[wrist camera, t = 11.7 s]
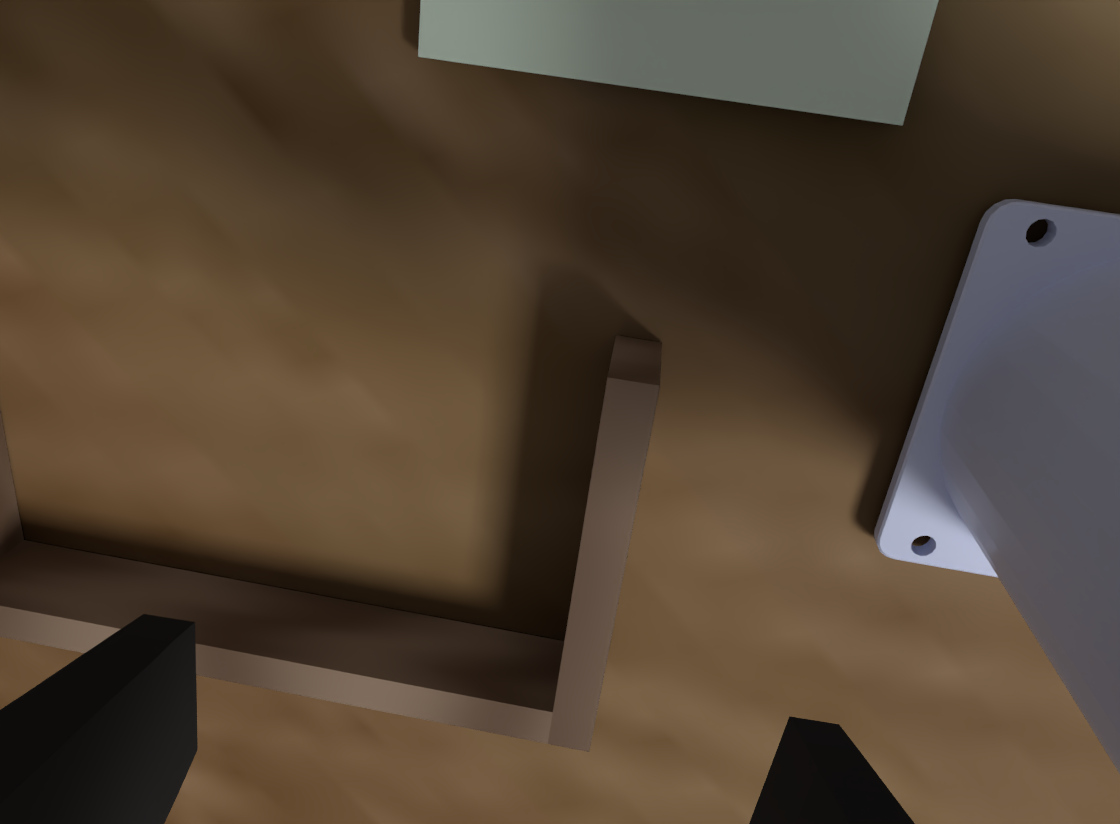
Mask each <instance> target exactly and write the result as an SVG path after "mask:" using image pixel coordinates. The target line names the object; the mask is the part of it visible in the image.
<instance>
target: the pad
mask: <svg viewBox="0 0 1120 824" xmlns="http://www.w3.org/2000/svg"><path fill="white" fill-rule="evenodd" d="M938 1H939V0H421V4H420V25H419V46H418V57H423V58H430V59H437V60H444V61H451V62H458V63H465V64H472V65H480V66H487V67H494V68H501V69H508V70H515V71H522V72H529V73H536V74H543V75H550V76H557V77H564V78H571V79H578V80H585V81H592V82H599V83H606V84H613V85H620V86H627V87H634V88H641V89H648V90H655V91H662V92H669V93H676V94H684V95H691V96H698V97H705V98H712V99H719V100H726V101H733V102H740V103H747V104H754V105H761V106H768V107H775V108H782V109H789V110H796V111H803V112H810V113H817V114H824V115H831V116H838V117H845V118H852V119H859V120H866V121H873V122H880V123H888V124H895V125H902V126H903V122H904V119H905V116H906V112H907V109H908V105H909V102H910V98H911V95H912V91H913V88H914V84H915V81H916V77H917V74H918V70H919V67H920V63H921V60H922V57H923V53H924V50H925V46H926V43H927V39H928V36H929V32H930V29H931V25H932V22H933V18H934V15H935V11H936V8H937V4H938Z"/></svg>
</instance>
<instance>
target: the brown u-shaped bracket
mask: <svg viewBox="0 0 1120 824" xmlns="http://www.w3.org/2000/svg"><path fill="white" fill-rule="evenodd" d="M661 348H662V343H661V342H655V341H649V340H643V339H636V338H630V337H624V336H618V335H616V337H615V342H614V347H613V352H612V357H611V362H610V367H609V372H608V377H607V383H606V389H605V395H604V401H603V408H602V414H601V420H600V426H599V432H598V438H597V444H596V451H595V457H594V463H593V469H592V475H591V481H590V487H589V493H588V500H587V506H586V512H585V518H584V524H583V530H582V536H581V543H580V549H579V555H578V561H577V567H576V573H575V579H574V586H573V592H572V598H571V604H570V610H569V616H568V622H567V629H566V635H565V641H560V640H555V639H550V638H544V637H539V636H534V635H528V634H523V633H518V632H512V631H507V630H502V629H496V628H491V627H486V626H480V625H475V624H470V623H464V622H459V621H454V620H448V619H443V618H438V617H432V616H427V615H422V614H416V613H411V612H406V611H400V610H395V609H390V608H384V607H379V606H374V605H368V604H363V603H358V602H352V601H347V600H342V599H336V598H331V597H325V596H320V595H315V594H309V593H304V592H299V591H293V590H288V589H283V588H277V587H272V586H267V585H261V584H256V583H251V582H245V581H240V580H235V579H229V578H224V577H219V576H213V575H208V574H203V573H197V572H192V571H187V570H181V569H176V568H171V567H165V566H160V565H155V564H149V563H144V562H139V561H133V560H128V559H123V558H117V557H112V556H107V555H101V554H96V553H91V552H85V551H80V550H75V549H69V548H64V547H59V546H53V545H48V544H43V543H37V542H32V541H27V540H24V538H23V532H22V527H21V521H20V516H19V510H18V505H17V499H16V494H15V488H14V483H13V477H12V472H11V466H10V461H9V455H8V450H7V444H6V439H5V433H4V428H3V423H2V417H1V412H0V637H5V638H10V639H15V640H20V641H25V642H31V643H36V644H41V645H46V646H51V647H56V648H61V649H66V650H71V651H76V652H82V653H86V652H87V651H89V650H90V649H92V648H93V647H95V646H96V645H98V644H99V643H101V642H102V641H103V640H105V639H106V638H108V637H109V636H111V635H112V634H114V633H115V632H117V631H118V630H120V629H121V628H123V627H125V626H126V625H128V624H129V623H131V622H132V621H134V620H135V619H137V618H138V617H140V616H141V615H143V614H148V615H154V616H161V617H167V618H173V619H179V620H186V621H192V622H195V641H196V675H199V676H204V677H209V678H214V679H219V680H225V681H230V682H235V683H240V684H245V685H250V686H255V687H260V688H265V689H271V690H276V691H281V692H286V693H291V694H296V695H301V696H306V697H311V698H317V699H322V700H327V701H332V702H337V703H342V704H347V705H352V706H357V707H363V708H368V709H373V710H378V711H383V712H388V713H393V714H398V715H403V716H408V717H414V718H419V719H424V720H429V721H434V722H439V723H444V724H449V725H454V726H460V727H465V728H470V729H475V730H480V731H485V732H490V733H495V734H500V735H506V736H511V737H516V738H521V739H526V740H531V741H536V742H541V743H546V744H551V745H557V746H562V747H567V748H572V749H577V750H582V751H587V752H589V750H590V745H591V740H592V735H593V730H594V725H595V719H596V714H597V709H598V704H599V699H600V693H601V688H602V683H603V678H604V673H605V668H606V662H607V657H608V652H609V647H610V642H611V637H612V631H613V626H614V621H615V616H616V611H617V606H618V600H619V595H620V590H621V585H622V580H623V575H624V569H625V564H626V559H627V554H628V549H629V544H630V538H631V533H632V528H633V523H634V518H635V513H636V507H637V502H638V497H639V492H640V487H641V481H642V476H643V471H644V466H645V461H646V456H647V450H648V445H649V440H650V435H651V430H652V425H653V419H654V414H655V409H656V404H657V399H658V394H659V388H660V373H661Z"/></svg>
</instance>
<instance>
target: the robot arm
mask: <svg viewBox="0 0 1120 824" xmlns="http://www.w3.org/2000/svg"><path fill="white" fill-rule="evenodd" d="M1040 219H1045V220H1046V221H1047V223H1048V227H1047V232H1046V233H1045V235H1044V236H1043V238H1041V239H1040V240H1038V241H1036V242H1032V243H1028V242H1027V240H1026V231H1027V229H1028V228H1029V227H1030V225H1031V224H1032V223H1034V222H1035V221H1037V220H1040ZM920 536H929V537H931V538H930V540H929V541H928V542H927V543H926V544H924V545H922V546H914V545H912V544H911V543H912V542H913V541H914V539H916V538H918V537H920ZM874 538H875V541H876V543H877V546H878V548H879V551H880V552H881V553H883V554H884V555H885V556H886V557H889V558H892V559H896V560H902V561H907V562H913V563H919V564H924V565H930V566H936V567H942V568H947V569H953V570H959V571H964V572H970V573H976V574H981V575H987V576H993V577H998V578H999V579H1000V581H1001V583H1002V584H1003V586H1004V587H1005V589H1006V591H1007V592H1008V594H1009V595H1010V597H1011V599H1012V600H1013V602H1014V604H1015V605H1016V607H1017V608H1018V610H1019V612H1020V613H1021V615H1022V616H1023V618H1024V620H1025V621H1026V623H1027V625H1028V626H1029V628H1030V629H1031V631H1032V633H1033V634H1034V636H1035V637H1036V639H1037V641H1038V642H1039V644H1040V646H1041V647H1042V649H1043V650H1044V652H1045V654H1046V655H1047V657H1048V659H1049V660H1050V662H1051V663H1052V665H1053V667H1054V668H1055V670H1056V671H1057V673H1058V675H1059V676H1060V678H1061V680H1062V681H1063V683H1064V684H1065V686H1066V688H1067V689H1068V691H1069V692H1070V694H1071V696H1072V697H1073V699H1074V701H1075V702H1076V704H1077V705H1078V707H1079V709H1080V710H1081V712H1082V713H1083V715H1084V717H1085V718H1086V720H1087V722H1088V723H1089V725H1090V726H1091V728H1092V730H1093V731H1094V733H1095V734H1096V736H1097V738H1098V739H1099V741H1100V743H1101V744H1102V746H1103V747H1104V749H1105V751H1106V752H1107V754H1108V756H1109V757H1110V759H1111V760H1112V762H1113V764H1114V765H1115V767H1116V768H1117V770H1118V772H1119V773H1120V214H1115V213H1108V212H1101V211H1095V210H1088V209H1081V208H1074V207H1067V206H1060V205H1054V204H1047V203H1040V202H1033V201H1026V200H1020V199H1006V200H1003V201H1001V202H998V203H996V204H994V205H993V206H992V207H991V208H989V209H988V210H987V211H986V212H985V214H984V216H983V217H982V219H981V221H980V223H979V226H978V229H977V232H976V235H975V238H974V241H973V244H972V247H971V250H970V253H969V255H968V258H967V261H966V264H965V267H964V270H963V273H962V276H961V279H960V282H959V285H958V288H957V291H956V293H955V296H954V299H953V302H952V305H951V308H950V311H949V314H948V317H947V320H946V323H945V326H944V328H943V331H942V334H941V337H940V340H939V343H938V346H937V349H936V352H935V355H934V358H933V361H932V363H931V366H930V369H929V372H928V375H927V378H926V381H925V384H924V387H923V390H922V393H921V396H920V398H919V401H918V404H917V407H916V410H915V413H914V416H913V419H912V422H911V425H910V428H909V431H908V434H907V436H906V439H905V442H904V445H903V448H902V451H901V454H900V457H899V460H898V463H897V466H896V469H895V471H894V474H893V477H892V480H891V483H890V486H889V489H888V492H887V495H886V498H885V501H884V504H883V506H882V509H881V512H880V515H879V518H878V521H877V524H876V527H875V531H874ZM196 752H197V698H196V641H195V622H192V621H186V620H179V619H173V618H167V617H161V616H154V615H148V614H143V615H141V616H140V617H138V618H137V619H135V620H134V621H132V622H131V623H129V624H128V625H126V626H125V627H123V628H121V629H120V630H118V631H117V632H115V633H114V634H112V635H111V636H109V637H108V638H106V639H105V640H103V641H102V642H101V643H99V644H98V645H96V646H95V647H93V648H92V649H90V650H89V651H87V652H86V653H84V654H83V655H81V656H80V657H78V658H77V659H75V660H74V661H73V662H71V663H70V664H68V665H67V666H65V667H64V668H62V669H61V670H59V671H58V672H56V673H55V674H53V675H52V676H50V677H49V678H47V679H46V680H44V681H43V682H42V683H40V684H39V685H37V686H36V687H34V688H33V689H31V690H30V691H28V692H27V693H25V694H24V695H22V696H21V697H19V698H18V699H16V700H15V701H13V702H11V703H10V704H8V705H7V706H5V707H4V708H2V709H1V710H0V824H164V823H165V821H166V818H167V816H168V814H169V812H170V810H171V808H172V806H173V803H174V801H175V799H176V797H177V795H178V793H179V790H180V788H181V786H182V783H183V781H184V779H185V777H186V774H187V772H188V770H189V767H190V765H191V763H192V761H193V758H194V756H195V754H196ZM749 824H914V822H913V821H912V820H911V818H910V817H909V816H908V814H907V813H906V812H905V810H904V809H903V808H902V807H901V805H900V804H899V803H898V801H897V800H896V799H895V797H894V796H893V795H892V793H891V792H890V791H889V789H888V788H887V787H886V785H885V784H884V783H883V781H882V780H881V779H880V778H879V776H878V775H877V774H876V772H875V771H874V770H873V768H872V767H871V766H870V764H869V763H868V762H867V760H866V759H865V758H864V756H863V755H862V754H861V752H860V751H859V750H858V748H857V747H856V746H855V745H854V743H853V742H852V741H851V739H850V738H849V737H848V736H847V734H846V733H845V732H844V730H843V729H842V728H841V727H840V725H839V724H833V723H827V722H820V721H814V720H808V719H801V718H795V717H789V719H788V722H787V725H786V727H785V730H784V733H783V735H782V738H781V741H780V743H779V746H778V749H777V751H776V754H775V757H774V759H773V762H772V765H771V767H770V770H769V773H768V775H767V778H766V781H765V783H764V786H763V789H762V791H761V794H760V797H759V799H758V802H757V805H756V807H755V810H754V813H753V815H752V818H751V821H750V823H749Z"/></svg>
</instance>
